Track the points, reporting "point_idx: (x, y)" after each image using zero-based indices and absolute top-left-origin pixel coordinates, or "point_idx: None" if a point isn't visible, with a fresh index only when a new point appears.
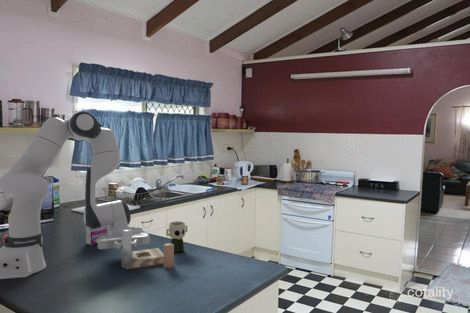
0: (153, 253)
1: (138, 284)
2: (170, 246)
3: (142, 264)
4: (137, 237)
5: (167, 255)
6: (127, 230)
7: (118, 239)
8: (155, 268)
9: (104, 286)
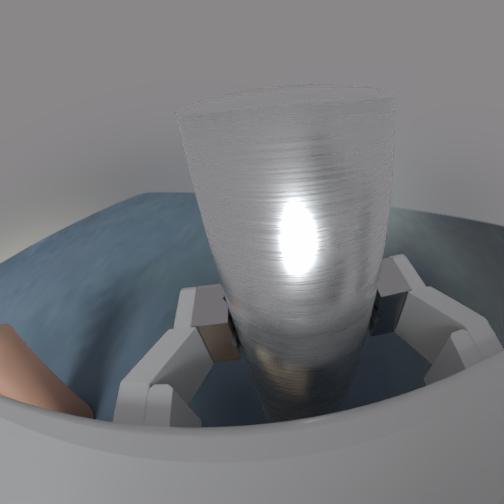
0: None
1: None
2: (5, 324)
3: None
4: (84, 418)
5: (45, 365)
6: (269, 95)
7: (457, 373)
8: None
9: None
